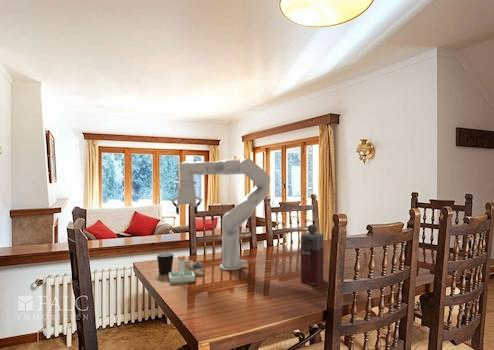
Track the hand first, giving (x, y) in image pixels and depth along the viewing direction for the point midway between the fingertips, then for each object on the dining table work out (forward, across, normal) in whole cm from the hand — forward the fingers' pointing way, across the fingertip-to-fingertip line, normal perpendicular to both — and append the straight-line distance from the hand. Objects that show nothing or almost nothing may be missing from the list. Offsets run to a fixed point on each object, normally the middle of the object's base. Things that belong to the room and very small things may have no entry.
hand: (186, 214), depth 188 cm
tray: (+30, +5, +21) cm, 37 cm away
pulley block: (+30, -2, +12) cm, 32 cm away
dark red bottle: (+31, -56, +42) cm, 76 cm away
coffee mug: (+31, +11, +6) cm, 33 cm away
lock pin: (+30, +5, +21) cm, 37 cm away
